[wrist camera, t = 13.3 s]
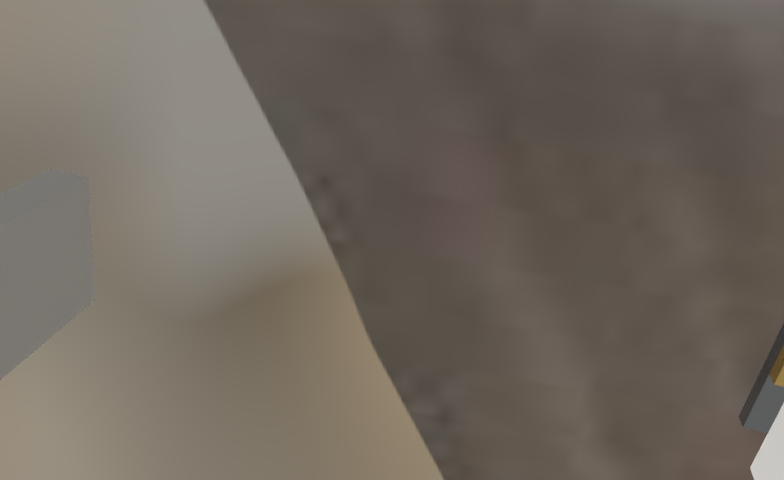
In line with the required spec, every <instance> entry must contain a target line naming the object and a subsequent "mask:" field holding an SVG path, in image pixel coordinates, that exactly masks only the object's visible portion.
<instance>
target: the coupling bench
mask: <svg viewBox="0 0 784 480" xmlns="http://www.w3.org/2000/svg"><path fill="white" fill-rule="evenodd" d="M783 403H784V325H783V327H782V329H781V331H780V333H779V335H778V337H777V339H776V341H775V343H774V345H773V347H772V350H771V352H770V354H769V356H768V358H767V360H766V362H765V364H764V366H763V368H762V370H761V372H760V374H759V376H758V378H757V381H756V383H755V385H754V387H753V389H752V391H751V393H750V395H749V397H748V399H747V401H746V403H745V405H744V407H743V409H742V412H741V414H740V416H739V418H740V421H741V423H742V426H743V427H744V428H748V429H752V430H756V431H760V432H764V433H768V432H769V430H770V428H771V426H772V424H773V423H774V421H775V419H776V417H777V415H778V413H779V411H780V409H781V407H782V405H783Z"/></svg>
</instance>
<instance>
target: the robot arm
mask: <svg viewBox="0 0 784 480" xmlns="http://www.w3.org/2000/svg"><path fill="white" fill-rule="evenodd" d="M93 301H95V293H94V273H93V254H92V235H91V217H90V197H89V179H88V177H86V176H82V175H78V174H73V173H69V172H65V171H61V170H56V169H50V170H47V171H46V172H44V173H42V174H40V175H38V176H36V177H34V178H32V179H30V180H28V181H26V182H24V183H22V184H20V185H18V186H16V187H14V188H13V189H10V190H8V191H6V192H4V193H3V194H0V380H1V379H2V378H3V377H4V376H6V375H7V374H8V373H9V372H10V371H11V370H13V369H14V368H15V367H16V366H17V365H19V364H20V363H21V362H22V361H23V360H24V359H26V358H27V357H28V356H29V355H30V354H32V353H33V352H34V351H35V350H36V349H38V348H39V347H40V346H41V345H42V344H44V343H45V342H46V341H47V340H48V339H49V338H51V337H52V336H53V335H54V334H55V333H56V332H58V331H59V330H60V329H61V328H62V327H64V326H65V325H66V324H67V323H68V322H69V321H71V320H72V319H73V318H74V317H76V316H77V315H78V314H79V313H80V312H82V311H83V310H84V309H85V308H86V307H87V306H89V305H90V304H91V303H92V302H93ZM750 469H751V472H752V475H753V478H754V480H784V403H783V405H782V407H781V409H780V411H779V413H778V415H777V417H776V419H775V421H774V423H773V424H772V426H771V428H770V430H769V432H768V434H767V436H766V438H765V440H764V442H763V444H762V446H761V448H760V450H759V452H758V454H757V456H756V457H755V459H754V461H753V463H752V465H751V467H750Z"/></svg>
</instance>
